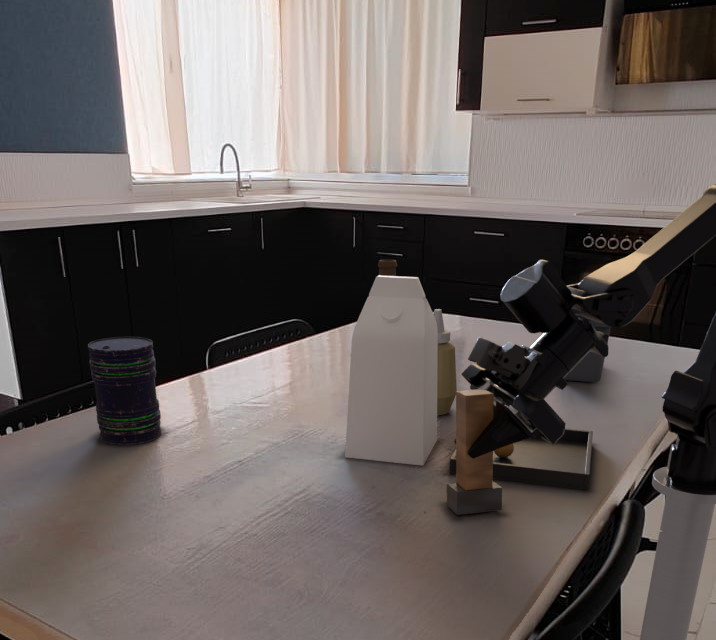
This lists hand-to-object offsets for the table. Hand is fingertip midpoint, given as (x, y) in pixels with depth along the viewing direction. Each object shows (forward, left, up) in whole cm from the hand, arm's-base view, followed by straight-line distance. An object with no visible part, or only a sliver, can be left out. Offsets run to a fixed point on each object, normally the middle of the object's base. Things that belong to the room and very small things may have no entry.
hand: (463, 450), depth 97 cm
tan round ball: (-3, -19, -6) cm, 20 cm away
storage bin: (-11, -77, -8) cm, 78 cm away
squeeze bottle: (+12, -40, -8) cm, 42 cm away
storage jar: (+56, -12, -8) cm, 58 cm away
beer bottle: (+25, -55, -8) cm, 61 cm away
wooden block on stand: (-2, 0, -8) cm, 8 cm away
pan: (-6, -21, -8) cm, 23 cm away
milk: (+14, -19, -8) cm, 25 cm away
